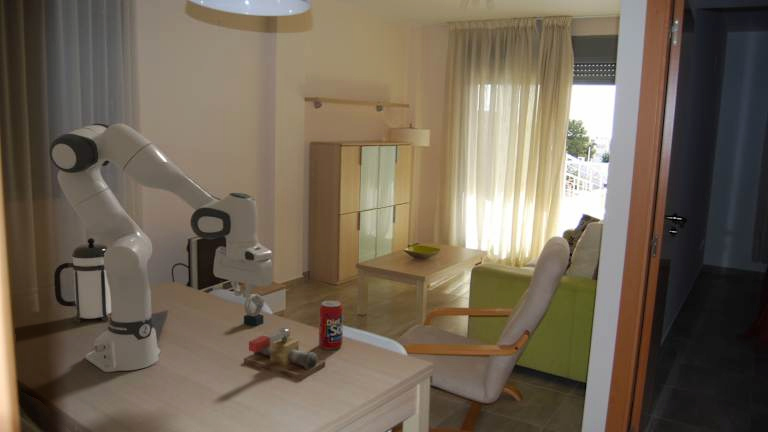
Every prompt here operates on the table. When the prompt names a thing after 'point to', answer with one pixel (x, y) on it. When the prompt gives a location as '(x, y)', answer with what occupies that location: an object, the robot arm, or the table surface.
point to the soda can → (330, 324)
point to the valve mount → (286, 359)
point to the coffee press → (87, 282)
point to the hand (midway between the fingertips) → (242, 296)
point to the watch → (255, 317)
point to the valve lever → (268, 340)
